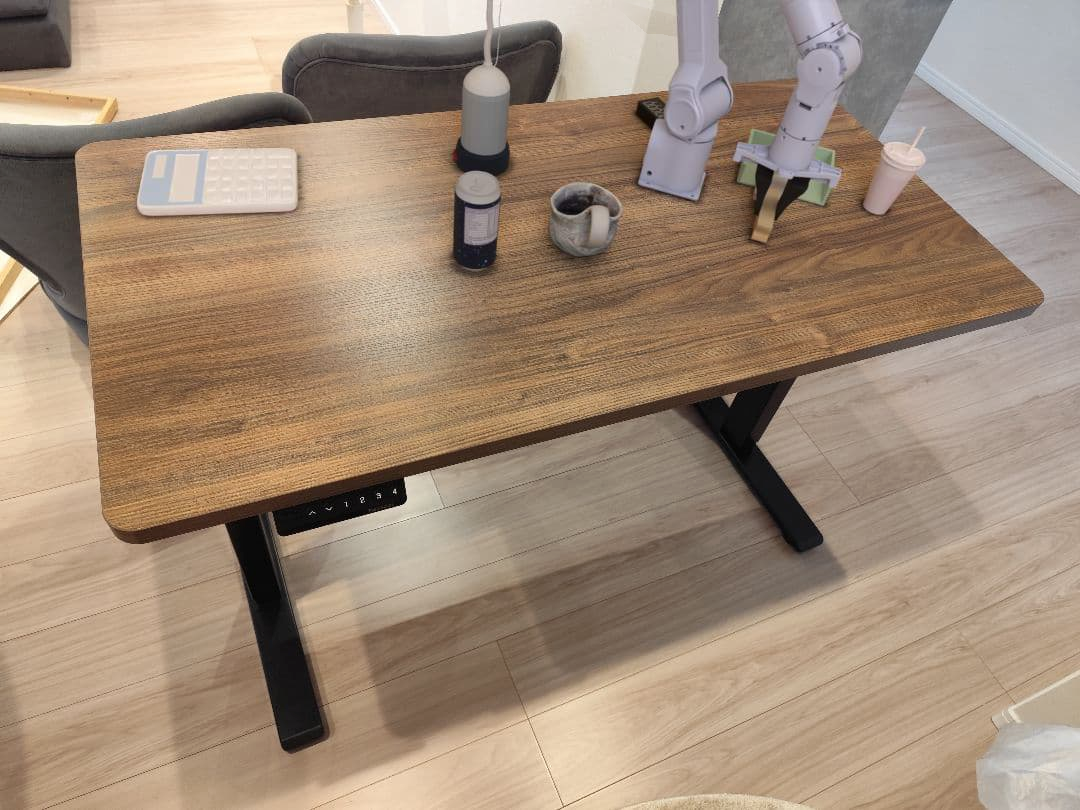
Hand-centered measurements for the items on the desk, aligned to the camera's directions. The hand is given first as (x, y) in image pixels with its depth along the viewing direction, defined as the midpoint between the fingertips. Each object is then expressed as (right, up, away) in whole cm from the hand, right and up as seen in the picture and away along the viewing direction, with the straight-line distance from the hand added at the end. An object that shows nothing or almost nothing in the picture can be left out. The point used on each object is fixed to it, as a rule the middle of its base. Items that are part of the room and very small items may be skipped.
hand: (765, 214), depth 108 cm
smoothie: (+20, +3, +9) cm, 22 cm away
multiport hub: (-12, +19, +17) cm, 28 cm away
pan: (+8, +13, +14) cm, 20 cm away
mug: (-27, -7, -7) cm, 29 cm away
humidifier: (-42, +9, +4) cm, 43 cm away
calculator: (-77, +2, -7) cm, 77 cm away
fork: (+1, +2, +3) cm, 4 cm away
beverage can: (-42, -9, -10) cm, 44 cm away
